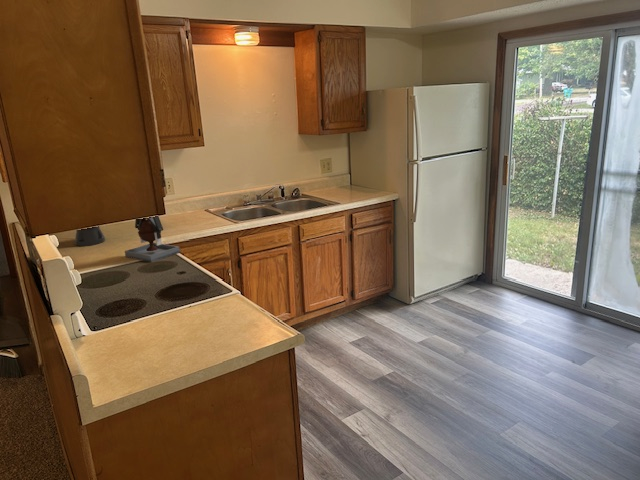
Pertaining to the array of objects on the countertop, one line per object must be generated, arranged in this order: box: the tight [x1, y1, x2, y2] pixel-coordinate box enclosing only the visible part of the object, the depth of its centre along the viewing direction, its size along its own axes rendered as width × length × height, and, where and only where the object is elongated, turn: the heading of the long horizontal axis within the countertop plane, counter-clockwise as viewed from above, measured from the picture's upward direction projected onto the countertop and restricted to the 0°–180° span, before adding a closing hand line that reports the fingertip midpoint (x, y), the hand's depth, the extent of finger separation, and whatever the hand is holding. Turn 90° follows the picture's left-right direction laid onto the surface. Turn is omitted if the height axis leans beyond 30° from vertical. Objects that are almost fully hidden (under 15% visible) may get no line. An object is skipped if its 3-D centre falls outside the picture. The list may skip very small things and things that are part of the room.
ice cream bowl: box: [137, 219, 158, 251], centre depth 234 cm, size 11×11×15 cm
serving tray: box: [124, 241, 181, 263], centre depth 236 cm, size 20×17×3 cm
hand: (151, 243), depth 235 cm, fingers closed on ice cream bowl, 11 cm apart
